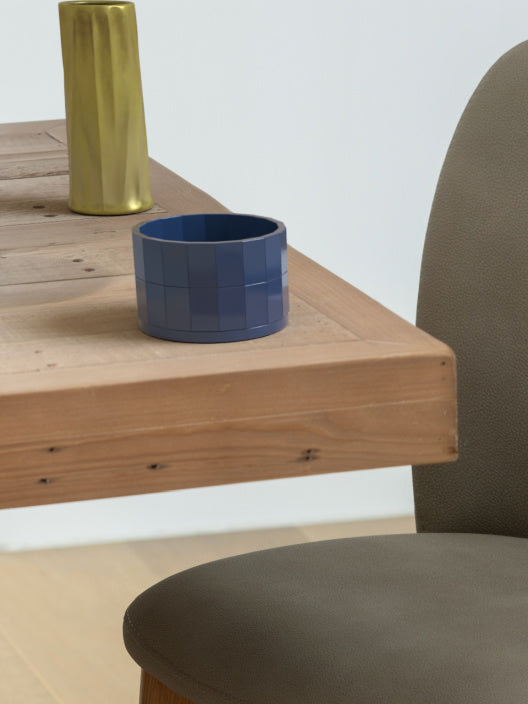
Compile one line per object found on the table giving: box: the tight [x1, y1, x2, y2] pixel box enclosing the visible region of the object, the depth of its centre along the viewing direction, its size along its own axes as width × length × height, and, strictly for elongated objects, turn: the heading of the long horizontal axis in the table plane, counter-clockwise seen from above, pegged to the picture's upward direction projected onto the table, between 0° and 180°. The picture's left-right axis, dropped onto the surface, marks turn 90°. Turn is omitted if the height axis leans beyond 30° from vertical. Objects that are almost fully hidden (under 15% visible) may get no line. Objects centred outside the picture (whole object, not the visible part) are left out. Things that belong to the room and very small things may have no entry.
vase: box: [57, 0, 155, 216], centre depth 111 cm, size 6×6×14 cm
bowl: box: [131, 212, 290, 344], centre depth 83 cm, size 8×8×5 cm
